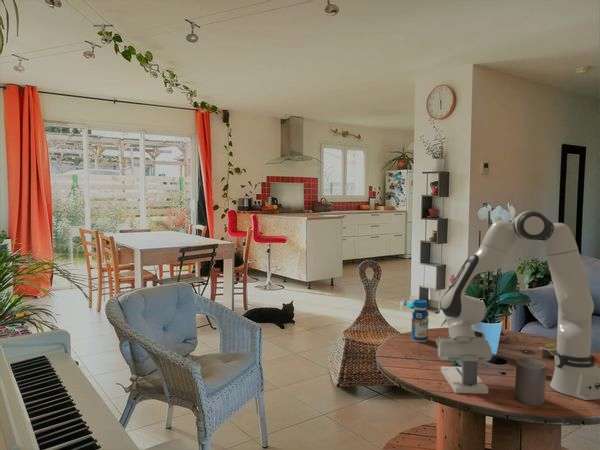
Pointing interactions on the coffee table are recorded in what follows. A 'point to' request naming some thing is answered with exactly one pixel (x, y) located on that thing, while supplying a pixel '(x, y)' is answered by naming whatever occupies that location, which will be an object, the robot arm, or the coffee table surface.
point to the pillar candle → (530, 381)
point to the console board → (455, 381)
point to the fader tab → (469, 369)
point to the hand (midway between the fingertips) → (468, 370)
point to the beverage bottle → (420, 321)
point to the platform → (548, 349)
